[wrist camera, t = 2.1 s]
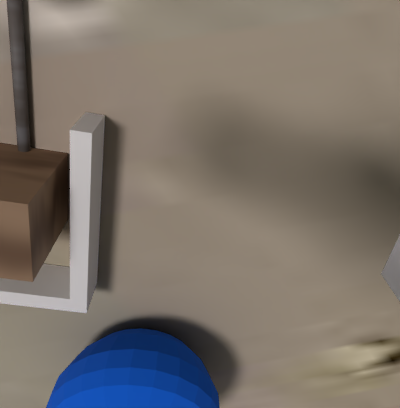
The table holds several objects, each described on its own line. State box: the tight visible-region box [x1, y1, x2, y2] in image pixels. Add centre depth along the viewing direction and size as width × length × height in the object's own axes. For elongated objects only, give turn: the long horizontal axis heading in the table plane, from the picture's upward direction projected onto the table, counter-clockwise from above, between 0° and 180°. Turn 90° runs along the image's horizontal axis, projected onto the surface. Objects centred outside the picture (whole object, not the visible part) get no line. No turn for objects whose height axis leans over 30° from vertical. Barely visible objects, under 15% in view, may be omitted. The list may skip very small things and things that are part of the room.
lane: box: [0, 112, 105, 313], centre depth 33 cm, size 19×13×4 cm
